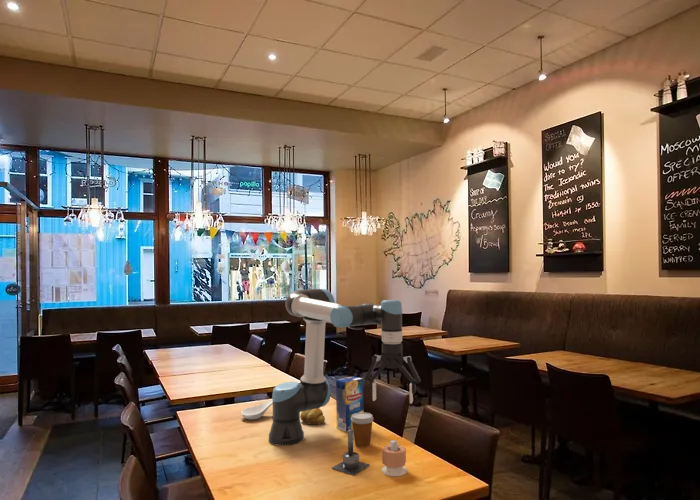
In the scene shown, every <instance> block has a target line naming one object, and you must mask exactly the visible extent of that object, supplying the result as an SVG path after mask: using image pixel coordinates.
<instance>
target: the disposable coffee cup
mask: <svg viewBox="0 0 700 500" xmlns="http://www.w3.org/2000/svg"><path fill="white" fill-rule="evenodd" d="M374 420H375V419H374V417H373V414H371V413H370V412H360V413H355V414H353V415H352V417H351V421H352V425H353V441H354V445H355V446H356V447H357V448H367V447H370V446H371V440H372V439H371V438H372V429H373V421H374Z"/></svg>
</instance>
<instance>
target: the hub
mask: <svg viewBox="0 0 700 500" xmlns="http://www.w3.org/2000/svg"><path fill="white" fill-rule="evenodd" d="M389 442H390V444H389V445H390V451H398V445H399V444H398V441H397V440H396V439H395V440H390V441H389ZM381 472H382V474H384V476H385V475H386V476H388V477H394V478H395V477H398V478H399V477H402V476H405V475H406V474H407V473H408V469H407V467H405V466H401V467H398V468H394V467H387V466H385V465H384V466H382V468H381Z"/></svg>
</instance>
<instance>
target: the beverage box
mask: <svg viewBox="0 0 700 500" xmlns="http://www.w3.org/2000/svg"><path fill="white" fill-rule="evenodd" d="M335 383H336V384H335V385H336V386H335V387H336V388H335V394H336V395H335V396H336V397H335V398H336V399H335V401H336V402H335V403H336V409H335V410H336V429H339V430H341V431H344V432H347V433H348V430H349V429H352V430H353V425H352V421H351V417H352V415H353V414H355V413H360V412H364V378H363V377H358V376H354V375H353V376H348V377H343V378H339V379H336V380H335ZM364 413H365V412H364Z"/></svg>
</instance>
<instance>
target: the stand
mask: <svg viewBox="0 0 700 500" xmlns="http://www.w3.org/2000/svg"><path fill="white" fill-rule="evenodd" d="M370 465H371V464H369V463H366V462H362V461H360V454H359V453H358V452H355V451H354V433H353V430H352V429H349V430H348V431H347V451H346V452H344V453H342V461H341V462H339V463H337V464H336V465H334V466H333V467H331V469H332V470H335V471H338V472H341V473H345V474H348V475H352V476H356V475H357V474H359V473H361V472H363V471H365V470H366V469H367V468H369V467H370Z"/></svg>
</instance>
